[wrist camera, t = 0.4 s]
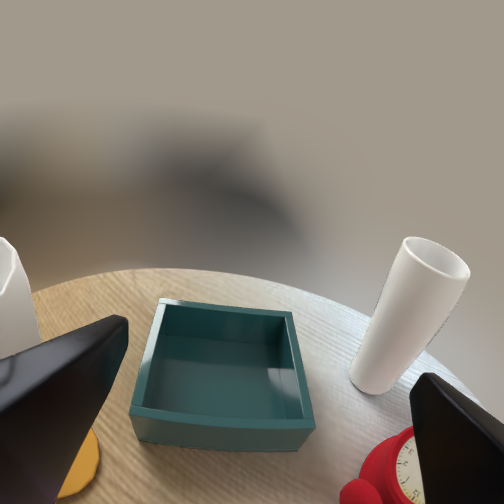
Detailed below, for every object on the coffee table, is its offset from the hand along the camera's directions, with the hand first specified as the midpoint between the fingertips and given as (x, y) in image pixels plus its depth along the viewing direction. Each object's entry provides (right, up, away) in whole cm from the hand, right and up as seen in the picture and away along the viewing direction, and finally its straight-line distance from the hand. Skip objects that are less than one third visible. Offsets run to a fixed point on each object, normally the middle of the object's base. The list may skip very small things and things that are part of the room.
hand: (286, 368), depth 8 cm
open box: (-4, -9, +17) cm, 19 cm away
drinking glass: (+11, -10, +20) cm, 25 cm away
